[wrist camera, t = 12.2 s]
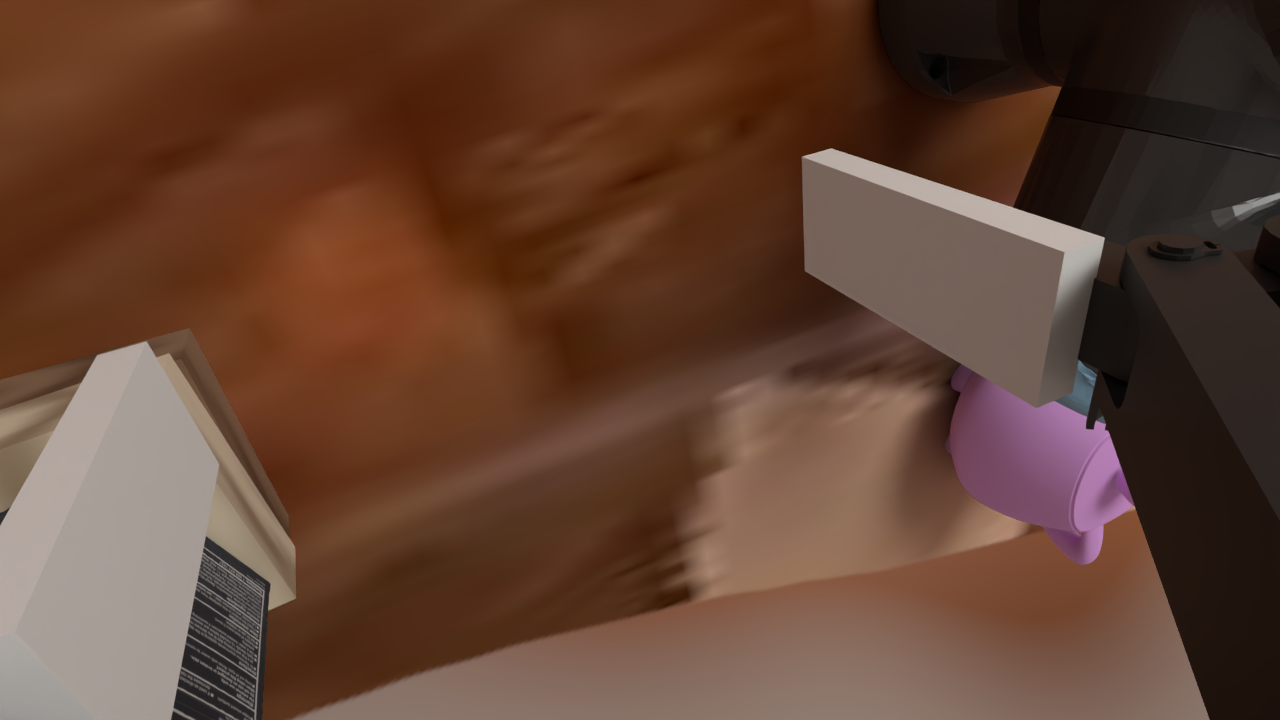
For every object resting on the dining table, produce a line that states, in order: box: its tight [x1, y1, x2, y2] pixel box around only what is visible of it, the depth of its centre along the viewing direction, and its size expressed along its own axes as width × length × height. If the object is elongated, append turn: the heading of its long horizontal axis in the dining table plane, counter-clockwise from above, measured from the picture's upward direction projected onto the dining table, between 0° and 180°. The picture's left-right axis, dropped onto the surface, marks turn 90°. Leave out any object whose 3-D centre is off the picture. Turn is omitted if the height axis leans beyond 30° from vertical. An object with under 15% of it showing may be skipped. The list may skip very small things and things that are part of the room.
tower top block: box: [0, 353, 296, 611], centre depth 33 cm, size 10×13×4 cm
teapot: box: [945, 364, 1135, 564], centre depth 61 cm, size 20×20×15 cm
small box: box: [0, 508, 271, 720], centre depth 28 cm, size 11×6×10 cm, turn 26°
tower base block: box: [0, 328, 289, 537], centre depth 36 cm, size 10×13×4 cm
